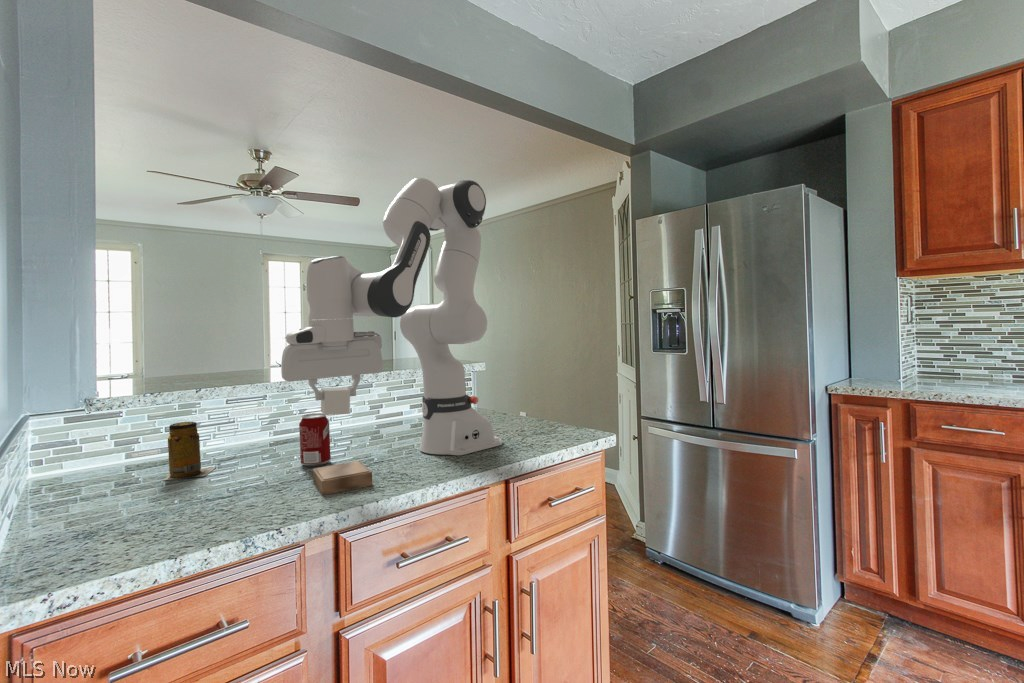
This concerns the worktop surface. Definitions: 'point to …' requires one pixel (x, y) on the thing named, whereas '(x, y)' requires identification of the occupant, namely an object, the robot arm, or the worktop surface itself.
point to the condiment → (184, 452)
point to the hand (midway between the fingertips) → (336, 398)
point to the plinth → (341, 477)
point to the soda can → (314, 440)
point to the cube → (335, 401)
